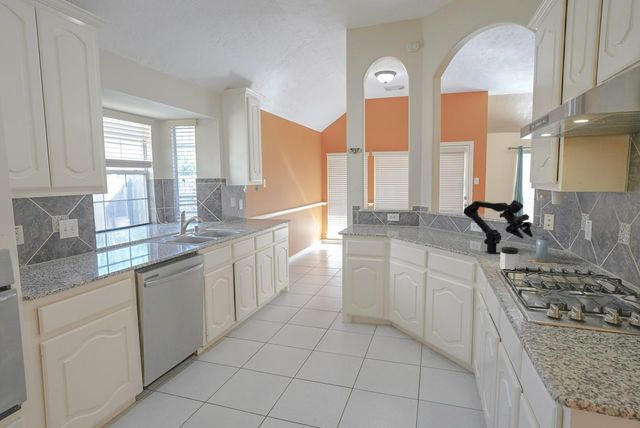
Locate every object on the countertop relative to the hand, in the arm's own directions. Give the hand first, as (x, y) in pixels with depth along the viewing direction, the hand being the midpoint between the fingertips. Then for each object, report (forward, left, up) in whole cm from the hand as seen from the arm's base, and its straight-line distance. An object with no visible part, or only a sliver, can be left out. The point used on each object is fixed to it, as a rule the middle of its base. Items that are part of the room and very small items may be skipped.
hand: (527, 237), depth 214 cm
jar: (+20, -23, -14) cm, 33 cm away
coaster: (+8, +4, -14) cm, 17 cm away
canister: (+8, +4, -13) cm, 16 cm away
